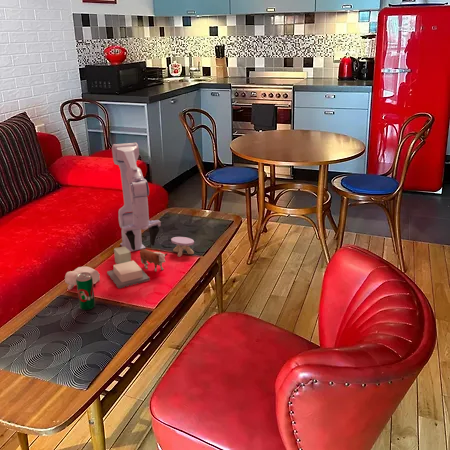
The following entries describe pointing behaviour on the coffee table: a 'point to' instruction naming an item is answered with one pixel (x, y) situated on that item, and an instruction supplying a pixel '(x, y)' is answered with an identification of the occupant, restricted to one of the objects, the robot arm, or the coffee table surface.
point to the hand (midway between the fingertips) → (142, 246)
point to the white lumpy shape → (72, 275)
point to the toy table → (182, 245)
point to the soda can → (85, 291)
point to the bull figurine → (152, 258)
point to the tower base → (118, 283)
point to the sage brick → (122, 255)
